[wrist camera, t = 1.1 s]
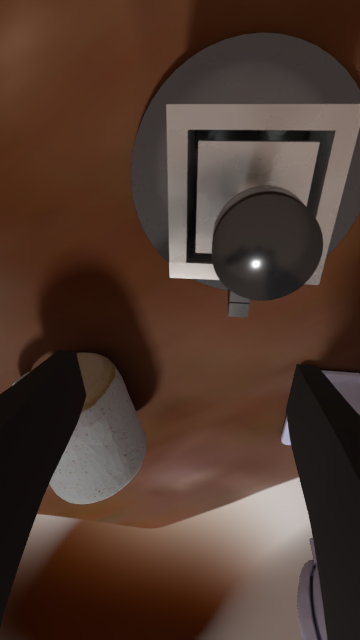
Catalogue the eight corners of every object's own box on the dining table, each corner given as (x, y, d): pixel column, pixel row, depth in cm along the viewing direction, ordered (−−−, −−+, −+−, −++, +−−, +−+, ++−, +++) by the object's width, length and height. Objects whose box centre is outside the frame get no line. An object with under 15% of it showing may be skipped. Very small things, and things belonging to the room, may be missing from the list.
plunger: (316, 141, 13) (380, 163, 8) (293, 252, 15) (330, 327, 10) (199, 139, 13) (183, 160, 8) (196, 248, 16) (183, 317, 10)
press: (411, 31, 13) (479, 3, 10) (334, 292, 20) (358, 332, 16) (122, 37, 14) (89, 13, 11) (140, 282, 21) (123, 317, 17)
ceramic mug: (126, 339, 24) (87, 425, 17) (156, 415, 28) (134, 508, 21) (3, 354, 26) (-71, 434, 20) (48, 422, 30) (-1, 507, 24)
